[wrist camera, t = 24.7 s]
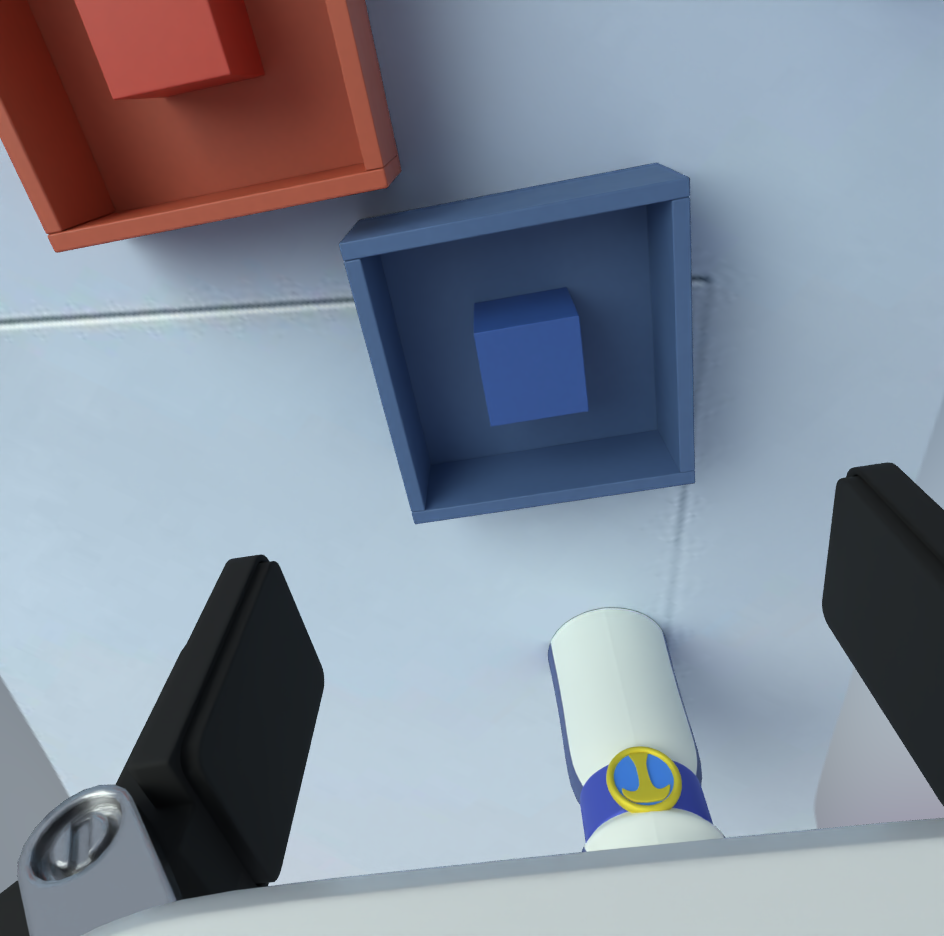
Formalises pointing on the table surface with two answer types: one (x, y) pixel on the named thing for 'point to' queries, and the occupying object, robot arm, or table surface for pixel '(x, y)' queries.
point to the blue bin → (517, 273)
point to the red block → (170, 45)
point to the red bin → (192, 125)
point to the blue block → (530, 356)
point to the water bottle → (627, 733)
